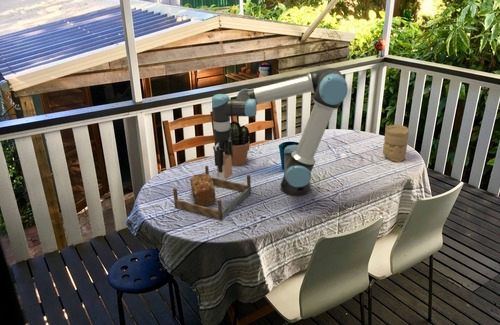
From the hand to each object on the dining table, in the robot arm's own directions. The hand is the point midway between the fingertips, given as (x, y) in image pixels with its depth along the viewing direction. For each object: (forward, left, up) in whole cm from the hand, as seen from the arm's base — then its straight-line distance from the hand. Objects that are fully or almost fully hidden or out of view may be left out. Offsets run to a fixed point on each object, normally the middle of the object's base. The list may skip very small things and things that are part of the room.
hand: (225, 175), depth 211 cm
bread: (+13, +1, -15) cm, 20 cm away
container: (-61, -86, -15) cm, 106 cm away
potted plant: (+17, -42, -15) cm, 48 cm away
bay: (+6, +1, -14) cm, 16 cm away
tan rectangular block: (0, 0, 0) cm, 0 cm away
